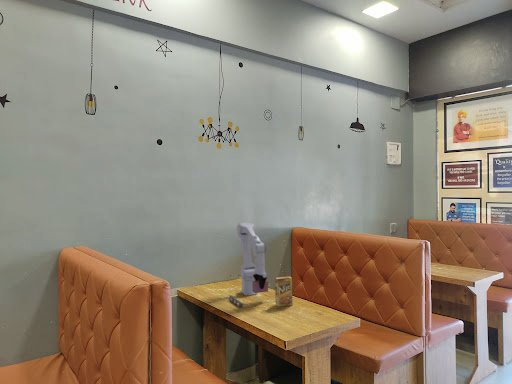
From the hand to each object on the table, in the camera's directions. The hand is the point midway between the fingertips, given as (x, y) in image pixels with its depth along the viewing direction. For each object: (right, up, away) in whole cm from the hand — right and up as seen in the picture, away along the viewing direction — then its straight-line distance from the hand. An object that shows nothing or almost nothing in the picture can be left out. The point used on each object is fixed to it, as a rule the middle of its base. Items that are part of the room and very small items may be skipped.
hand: (260, 287), depth 208 cm
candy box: (+13, -8, -7) cm, 17 cm away
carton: (0, -2, 0) cm, 2 cm away
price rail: (-14, -8, -3) cm, 16 cm away
